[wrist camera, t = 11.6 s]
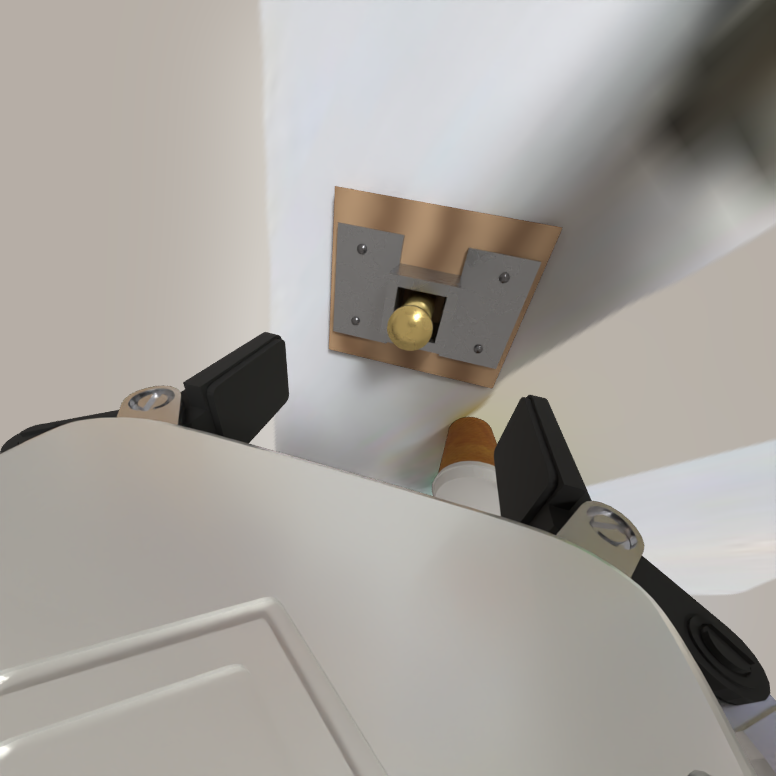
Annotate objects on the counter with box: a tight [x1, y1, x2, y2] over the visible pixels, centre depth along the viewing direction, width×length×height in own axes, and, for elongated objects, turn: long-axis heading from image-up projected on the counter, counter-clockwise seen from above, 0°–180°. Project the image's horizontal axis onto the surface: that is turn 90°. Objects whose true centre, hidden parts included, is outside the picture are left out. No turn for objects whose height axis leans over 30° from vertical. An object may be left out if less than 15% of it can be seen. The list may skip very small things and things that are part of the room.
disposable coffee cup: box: [432, 417, 501, 516], centre depth 36 cm, size 10×10×12 cm
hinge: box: [333, 222, 541, 369], centre depth 29 cm, size 21×12×6 cm, turn 81°
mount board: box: [329, 186, 562, 388], centre depth 32 cm, size 22×18×1 cm
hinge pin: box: [387, 290, 437, 351], centre depth 27 cm, size 4×4×10 cm
